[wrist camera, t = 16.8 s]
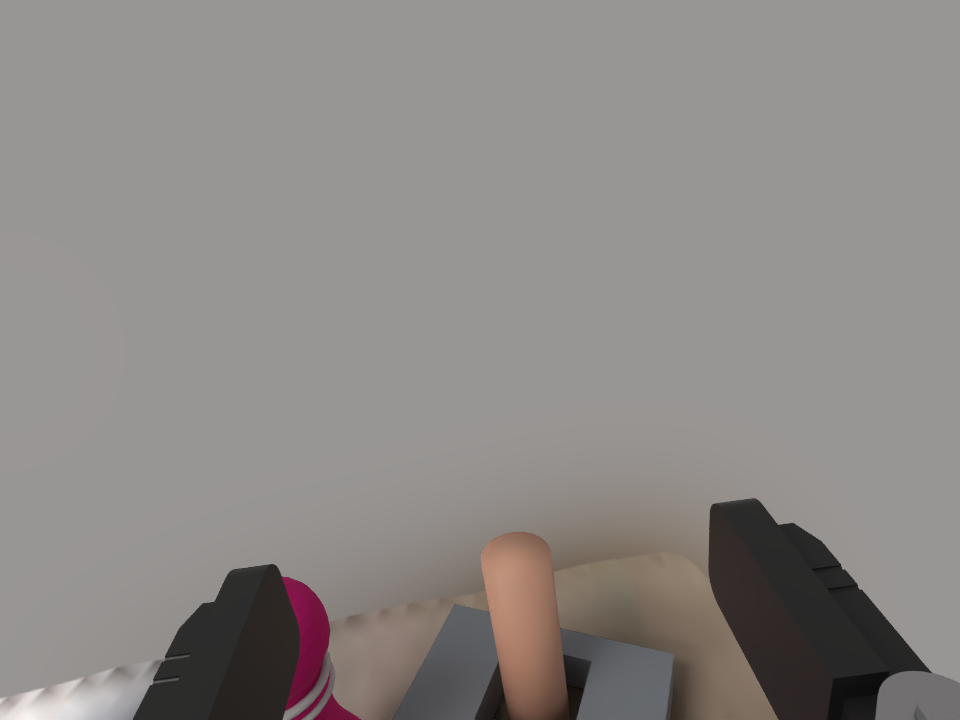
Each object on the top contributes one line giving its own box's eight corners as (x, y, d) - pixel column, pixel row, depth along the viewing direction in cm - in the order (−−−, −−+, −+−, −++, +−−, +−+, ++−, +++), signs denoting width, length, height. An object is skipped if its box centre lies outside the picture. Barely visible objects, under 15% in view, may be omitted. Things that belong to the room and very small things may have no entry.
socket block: (397, 756, 39) (388, 726, 37) (460, 632, 47) (454, 604, 46) (653, 847, 32) (652, 814, 31) (674, 685, 40) (674, 654, 39)
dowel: (501, 741, 39) (469, 574, 33) (520, 687, 42) (495, 527, 36) (561, 759, 37) (538, 588, 31) (577, 702, 40) (559, 537, 35)
